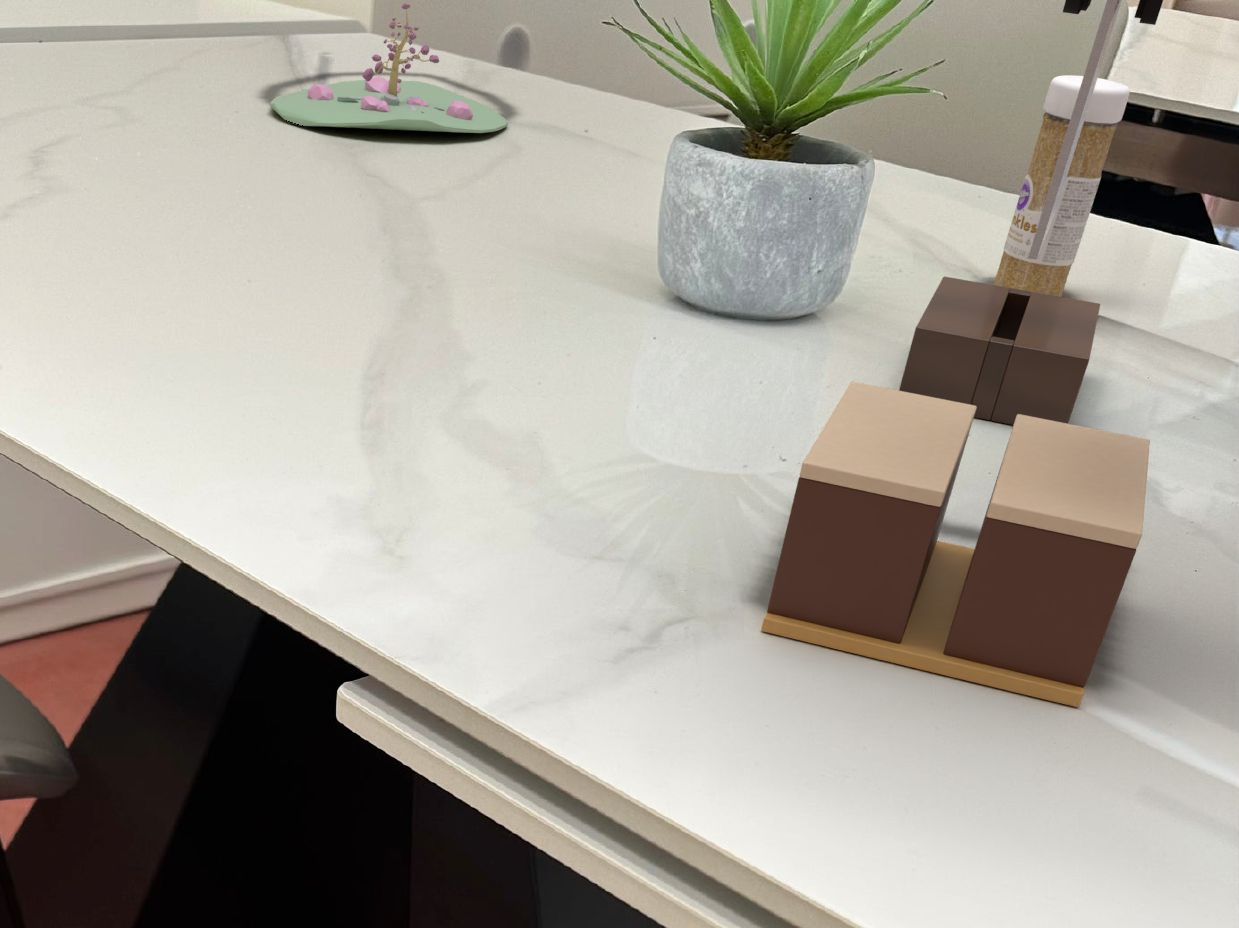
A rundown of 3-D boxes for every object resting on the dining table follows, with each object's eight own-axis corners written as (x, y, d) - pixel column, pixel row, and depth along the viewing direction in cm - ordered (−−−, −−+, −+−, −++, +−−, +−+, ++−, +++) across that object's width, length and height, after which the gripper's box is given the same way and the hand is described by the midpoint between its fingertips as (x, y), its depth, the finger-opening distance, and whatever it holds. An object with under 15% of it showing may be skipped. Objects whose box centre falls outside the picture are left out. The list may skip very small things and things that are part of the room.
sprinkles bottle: (972, 300, 106) (1037, 72, 98) (1033, 300, 107) (1102, 74, 99) (1010, 322, 103) (1081, 87, 95) (1072, 322, 104) (1148, 89, 96)
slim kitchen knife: (1030, 208, 63) (1127, -112, 57) (1073, 215, 62) (1175, -107, 56) (1006, 258, 55) (1115, -106, 49) (1055, 267, 55) (1171, -99, 49)
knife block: (924, 345, 97) (943, 276, 95) (1077, 374, 95) (1100, 303, 92) (895, 402, 88) (915, 327, 86) (1064, 435, 86) (1089, 359, 83)
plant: (270, 78, 152) (274, -33, 146) (489, 94, 153) (500, -15, 148) (269, 134, 132) (273, 8, 126) (521, 152, 133) (535, 28, 128)
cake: (815, 527, 73) (853, 377, 69) (1094, 588, 69) (1150, 435, 66) (760, 631, 64) (799, 466, 60) (1078, 708, 60) (1142, 539, 56)
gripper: (1650, -716, 45) (1356, 38, 55) (1058, -726, 49) (892, -25, 60) (1715, -795, 39) (1372, 63, 50) (1037, -797, 43) (858, -8, 54)
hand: (1111, 10), depth 55 cm, fingers closed on slim kitchen knife
